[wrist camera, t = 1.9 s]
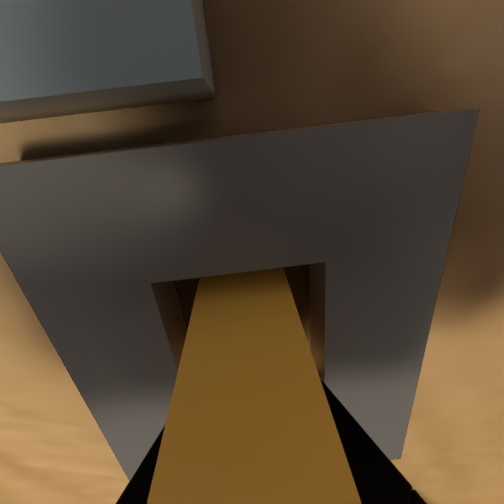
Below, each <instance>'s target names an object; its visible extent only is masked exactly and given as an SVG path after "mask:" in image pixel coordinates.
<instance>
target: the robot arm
mask: <svg viewBox="0 0 504 504" xmlns="http://www.w3.org/2000/svg"><path fill="white" fill-rule="evenodd" d="M320 380H321V378H320ZM321 383H322V386H323V389H324V392H325V395H326V398H327V401H328V404H329V407H330V410H331V413H332V416H333V419H334V422H335V425H336V428H337V431H338V434H339V437H340V440H341V443H342V446H343V449H344V452H345V455H346V458H347V461H348V464H349V467H350V470H351V473H352V476H353V479H354V482H355V485H356V488H357V491H358V494H359V497H360V500H361V503H362V504H427V503H426V502H425V501H424V500H423V498H422V497H421V496H420V495H419V494H418V493H417V491H416V490H412V486H411V485H410V483H409V482H408V481H407V480H406V479H405V477H404V476H403V475H402V474H401V473H400V472H399V470H398V469H397V468H396V467H395V466H394V464H393V463H392V462H391V461H390V460H389V459H388V457H387V456H386V455H385V454H384V453H383V452H382V450H381V449H380V448H379V447H378V446H377V444H376V443H375V442H374V441H373V440H372V439H371V437H370V436H369V435H368V434H367V433H366V431H365V430H364V429H363V428H362V427H361V426H360V424H359V423H358V422H357V421H356V420H355V418H354V417H353V416H352V415H351V414H350V413H349V411H348V410H347V409H346V408H345V407H344V405H343V404H342V403H341V402H340V401H339V400H338V398H337V397H336V396H335V395H334V394H333V393H332V391H331V390H330V389H329V388H328V387H327V385H326V384H325V383H324V382H323V381H322V380H321ZM164 428H165V425H164V427H163V429H162V430H161V432H160V434H159V435H158V437H157V438H156V440H155V442H154V443H153V445H152V446H151V448H150V450H149V451H148V453H147V454H146V456H145V458H144V459H143V461H142V462H141V464H140V466H139V467H138V469H137V470H136V472H135V474H134V475H133V477H132V478H131V480H130V482H129V483H128V485H127V486H126V488H125V490H124V491H123V493H122V494H121V496H120V498H119V499H118V501H117V502H116V504H147V501H148V497H149V493H150V488H151V484H152V480H153V475H154V471H155V467H156V463H157V458H158V454H159V450H160V445H161V441H162V437H163V433H164Z"/></svg>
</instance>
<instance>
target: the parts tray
mask: <svg viewBox="0 0 504 504" xmlns="http://www.w3.org/2000/svg"><path fill="white" fill-rule="evenodd" d="M208 98H217V96H216V89H215V82H214V75H213V68H212V61H211V54H210V47H209V40H208V33H207V26H206V19H205V12H204V5H203V0H0V123H6V122H15V121H23V120H31V119H40V118H48V117H57V116H65V115H74V114H82V113H90V112H99V111H107V110H116V109H124V108H133V107H141V106H149V105H158V104H166V103H175V102H183V101H191V100H200V99H208Z"/></svg>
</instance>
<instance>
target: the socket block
mask: <svg viewBox="0 0 504 504" xmlns="http://www.w3.org/2000/svg"><path fill="white" fill-rule="evenodd" d="M478 113H479V109H465V110H450V111H435V112H422V113H414V114H405V115H397V116H388V117H380V118H372V119H363V120H355V121H347V122H338V123H330V124H321V125H313V126H305V127H296V128H288V129H279V130H271V131H263V132H254V133H246V134H238V135H229V136H221V137H212V138H204V139H196V140H187V141H179V142H171V143H162V144H154V145H145V146H137V147H129V148H120V149H112V150H103V151H95V152H87V153H78V154H70V155H62V156H53V157H45V158H36V159H28V160H20V161H13V162H7V163H1V164H0V252H1V253H2V255H3V257H4V259H5V261H6V262H7V264H8V266H9V268H10V269H11V271H12V273H13V275H14V277H15V278H16V280H17V282H18V284H19V285H20V287H21V289H22V291H23V293H24V294H25V296H26V298H27V300H28V301H29V303H30V305H31V307H32V309H33V310H34V312H35V314H36V316H37V317H38V319H39V321H40V323H41V325H42V326H43V328H44V330H45V332H46V333H47V335H48V337H49V339H50V341H51V342H52V344H53V346H54V348H55V349H56V351H57V353H58V355H59V356H60V358H61V360H62V362H63V364H64V365H65V367H66V369H67V371H68V372H69V374H70V376H71V378H72V380H73V381H74V383H75V385H76V387H77V388H78V390H79V392H80V394H81V396H82V397H83V399H84V401H85V403H86V404H87V406H88V408H89V410H90V412H91V413H92V415H93V417H94V419H95V420H96V422H97V424H98V426H99V428H100V429H101V431H102V433H103V435H104V436H105V438H106V440H107V442H108V444H109V445H110V447H111V449H112V451H113V452H114V454H115V456H116V458H117V460H118V461H119V463H120V465H121V467H122V468H123V470H124V472H125V474H126V475H127V477H128V479H129V481H130V480H131V478H132V477H133V475H134V474H135V472H136V470H137V469H138V467H139V466H140V464H141V462H142V461H143V459H144V458H145V456H146V454H147V453H148V451H149V450H150V448H151V446H152V445H153V443H154V442H155V440H156V438H157V437H158V435H159V434H160V432H161V430H162V429H163V427H164V425H165V424H166V420H167V416H168V411H169V407H170V403H171V398H172V394H173V390H174V386H175V381H176V377H177V373H178V368H179V364H180V360H181V356H182V351H183V347H184V343H185V339H186V334H187V327H186V323H185V319H184V316H183V312H182V308H181V305H180V301H179V297H178V293H177V290H176V286H175V282H174V281H175V280H183V279H191V278H199V277H208V276H216V275H224V274H232V273H241V272H249V271H257V270H265V269H273V268H282V267H290V266H298V265H306V264H309V285H310V338H311V353H312V356H313V359H314V362H315V365H316V368H317V371H318V374H319V377H320V378H321V380H322V381H323V382H324V383H325V384H326V385H327V387H328V388H329V389H330V390H331V391H332V393H333V394H334V395H335V396H336V397H337V398H338V400H339V401H340V402H341V403H342V404H343V405H344V407H345V408H346V409H347V410H348V411H349V413H350V414H351V415H352V416H353V417H354V418H355V420H356V421H357V422H358V423H359V424H360V426H361V427H362V428H363V429H364V430H365V431H366V433H367V434H368V435H369V436H370V437H371V439H372V440H373V441H374V442H375V443H376V444H377V446H378V447H379V448H380V449H381V450H382V452H383V453H384V454H385V455H386V456H387V457H388V459H389V460H392V459H400V458H401V454H402V450H403V446H404V441H405V437H406V432H407V428H408V423H409V419H410V415H411V410H412V406H413V401H414V397H415V392H416V388H417V383H418V379H419V375H420V370H421V366H422V361H423V357H424V352H425V348H426V344H427V339H428V335H429V330H430V326H431V321H432V317H433V313H434V308H435V304H436V299H437V295H438V290H439V286H440V281H441V277H442V273H443V268H444V264H445V259H446V255H447V250H448V246H449V242H450V237H451V233H452V228H453V224H454V219H455V215H456V211H457V206H458V202H459V197H460V193H461V188H462V184H463V179H464V175H465V171H466V166H467V162H468V157H469V153H470V148H471V144H472V140H473V135H474V131H475V126H476V122H477V117H478Z"/></svg>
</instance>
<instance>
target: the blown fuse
mask: <svg viewBox="0 0 504 504" xmlns="http://www.w3.org/2000/svg"><path fill="white" fill-rule="evenodd" d="M147 504H362V503H361V500H360V497H359V494H358V491H357V488H356V485H355V482H354V479H353V476H352V473H351V470H350V467H349V464H348V461H347V458H346V455H345V452H344V449H343V446H342V443H341V440H340V437H339V434H338V431H337V428H336V425H335V422H334V419H333V416H332V413H331V410H330V407H329V404H328V401H327V398H326V395H325V392H324V389H323V386H322V383H321V380H320V377H319V374H318V371H317V368H316V365H315V362H314V359H313V356H312V353H311V350H310V347H309V344H308V341H307V338H306V335H305V332H304V329H303V326H302V323H301V320H300V317H299V314H298V311H297V308H296V305H295V302H294V299H293V296H292V293H291V290H290V287H289V284H288V281H287V278H286V275H285V272H284V269H283V267H282V268H273V269H265V270H257V271H249V272H241V273H232V274H224V275H216V276H208V277H200V279H199V283H198V287H197V291H196V296H195V300H194V304H193V309H192V313H191V317H190V321H189V326H188V330H187V334H186V339H185V343H184V347H183V351H182V356H181V360H180V364H179V368H178V373H177V377H176V381H175V386H174V390H173V394H172V398H171V403H170V407H169V411H168V416H167V420H166V424H165V428H164V433H163V437H162V441H161V445H160V450H159V454H158V458H157V463H156V467H155V471H154V475H153V480H152V484H151V488H150V493H149V497H148V501H147Z"/></svg>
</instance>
